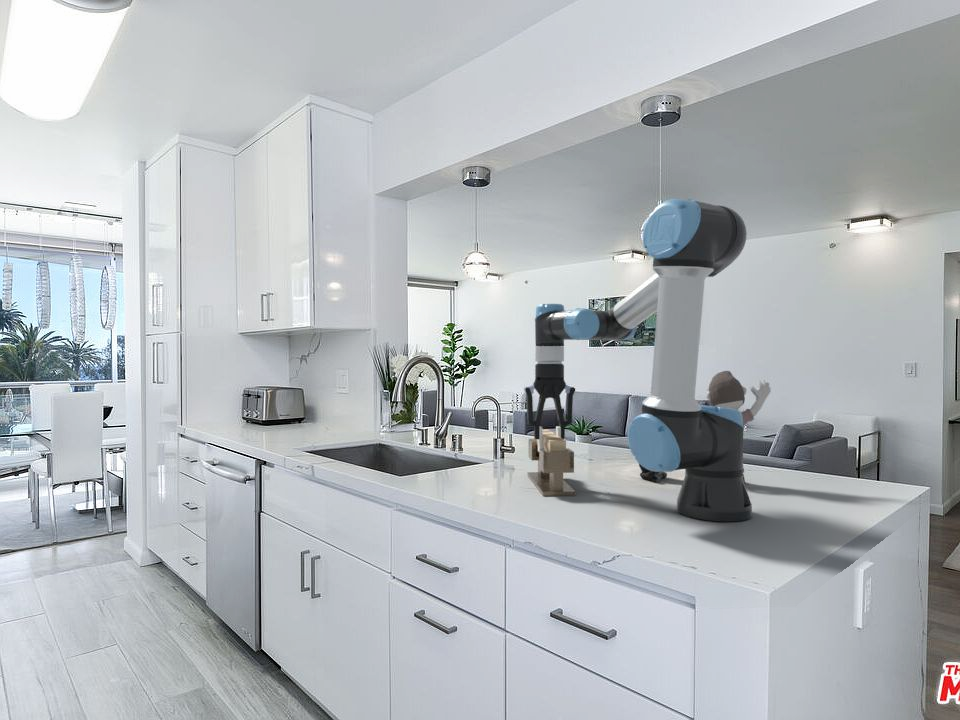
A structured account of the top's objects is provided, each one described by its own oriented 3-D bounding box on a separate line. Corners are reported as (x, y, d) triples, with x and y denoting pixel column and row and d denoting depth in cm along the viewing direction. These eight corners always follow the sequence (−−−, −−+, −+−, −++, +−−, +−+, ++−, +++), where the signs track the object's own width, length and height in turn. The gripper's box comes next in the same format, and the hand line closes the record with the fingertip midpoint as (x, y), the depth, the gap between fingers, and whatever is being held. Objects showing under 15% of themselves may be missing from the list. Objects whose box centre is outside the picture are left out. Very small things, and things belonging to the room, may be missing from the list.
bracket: (575, 495, 148) (575, 452, 148) (542, 496, 147) (542, 452, 147) (555, 475, 173) (555, 438, 173) (527, 475, 172) (527, 438, 172)
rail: (565, 460, 151) (565, 440, 151) (550, 461, 150) (550, 441, 150) (548, 447, 171) (548, 429, 170) (534, 447, 170) (534, 429, 170)
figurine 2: (764, 479, 166) (764, 370, 166) (777, 487, 157) (777, 371, 157) (695, 478, 168) (695, 370, 168) (704, 485, 159) (704, 371, 159)
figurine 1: (667, 484, 160) (667, 427, 160) (630, 480, 166) (630, 425, 166) (676, 478, 169) (677, 424, 168) (641, 474, 174) (642, 422, 174)
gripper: (578, 362, 164) (578, 449, 164) (515, 362, 163) (515, 449, 163) (585, 363, 157) (584, 453, 157) (519, 363, 155) (518, 454, 156)
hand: (549, 451), depth 160 cm, fingers closed on rail, 4 cm apart
